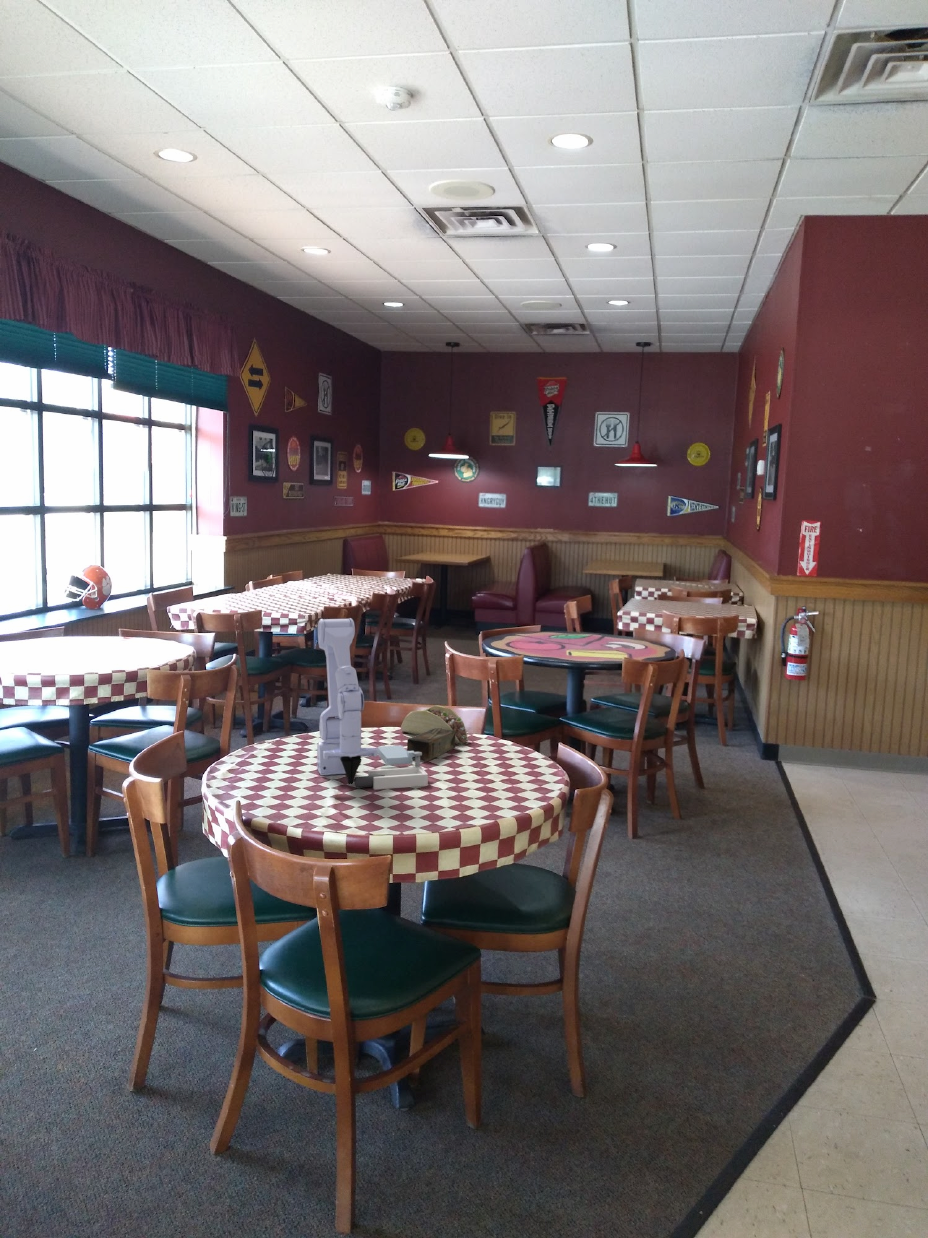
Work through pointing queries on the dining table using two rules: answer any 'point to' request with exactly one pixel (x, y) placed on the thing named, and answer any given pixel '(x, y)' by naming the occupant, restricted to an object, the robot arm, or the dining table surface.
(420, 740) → the brown box-shaped piece
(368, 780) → the dark grey cylinder
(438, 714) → the taco
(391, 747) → the cover
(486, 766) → the dining table surface
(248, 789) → the dining table surface
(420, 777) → the duct
